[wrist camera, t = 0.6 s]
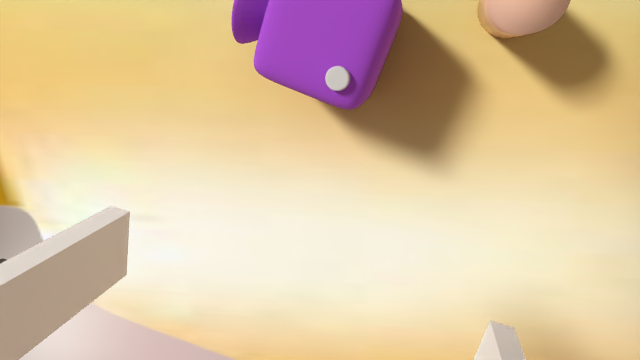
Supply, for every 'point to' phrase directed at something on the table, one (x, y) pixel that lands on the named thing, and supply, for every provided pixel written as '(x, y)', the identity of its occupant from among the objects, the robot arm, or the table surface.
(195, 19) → the table surface
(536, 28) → the peach rounded capsule part
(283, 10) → the toy camera
